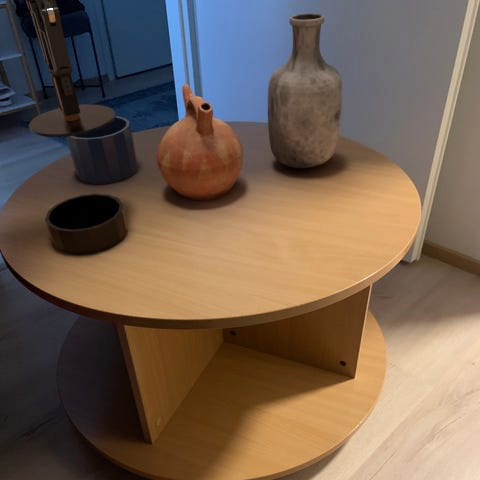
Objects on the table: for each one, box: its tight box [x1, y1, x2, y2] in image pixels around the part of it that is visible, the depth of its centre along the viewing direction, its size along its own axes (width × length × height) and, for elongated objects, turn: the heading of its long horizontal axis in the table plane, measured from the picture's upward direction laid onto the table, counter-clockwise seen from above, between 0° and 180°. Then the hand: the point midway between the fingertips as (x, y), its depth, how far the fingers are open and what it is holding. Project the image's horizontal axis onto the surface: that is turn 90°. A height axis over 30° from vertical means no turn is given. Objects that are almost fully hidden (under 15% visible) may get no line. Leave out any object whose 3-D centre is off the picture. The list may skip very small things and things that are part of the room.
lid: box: [28, 71, 117, 138], centre depth 91 cm, size 16×16×9 cm
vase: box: [267, 12, 343, 169], centre depth 109 cm, size 16×16×30 cm
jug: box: [156, 83, 244, 201], centre depth 105 cm, size 18×18×20 cm
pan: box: [44, 193, 129, 255], centre depth 97 cm, size 14×14×5 cm
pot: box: [65, 115, 139, 185], centre depth 118 cm, size 14×14×10 cm
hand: (70, 111), depth 92 cm, fingers closed on lid, 3 cm apart
